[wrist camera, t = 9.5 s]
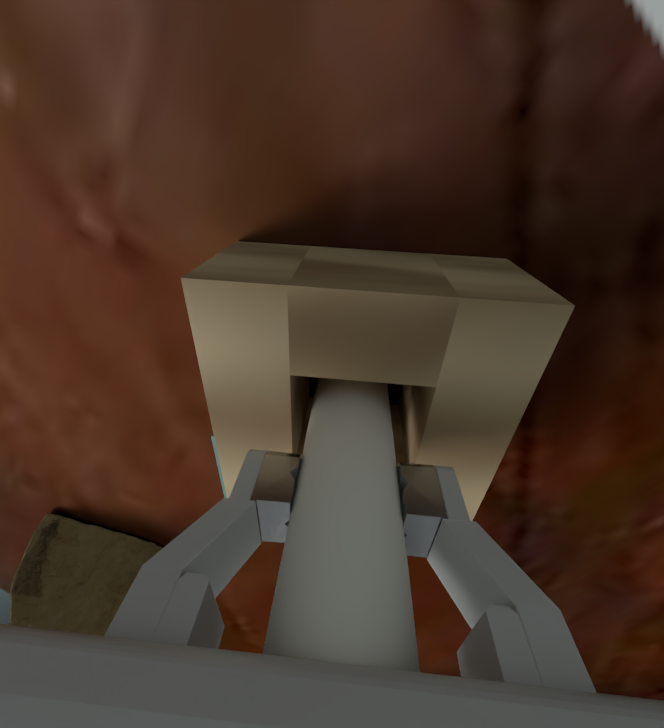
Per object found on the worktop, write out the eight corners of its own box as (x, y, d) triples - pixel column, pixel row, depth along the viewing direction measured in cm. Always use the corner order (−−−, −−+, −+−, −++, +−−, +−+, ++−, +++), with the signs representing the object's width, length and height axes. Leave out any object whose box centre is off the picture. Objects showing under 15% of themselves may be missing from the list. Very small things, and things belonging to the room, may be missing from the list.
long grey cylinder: (382, 415, 14) (416, 831, 5) (316, 409, 14) (245, 809, 5) (391, 358, 12) (460, 817, 4) (317, 353, 12) (220, 785, 4)
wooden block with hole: (443, 450, 17) (466, 532, 13) (257, 433, 18) (229, 508, 14) (506, 258, 12) (575, 305, 8) (237, 241, 12) (180, 278, 8)
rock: (-25, 547, 23) (69, 629, 26) (-121, 668, 15) (29, 761, 18) (132, 457, 26) (197, 540, 30) (117, 519, 19) (206, 620, 22)
